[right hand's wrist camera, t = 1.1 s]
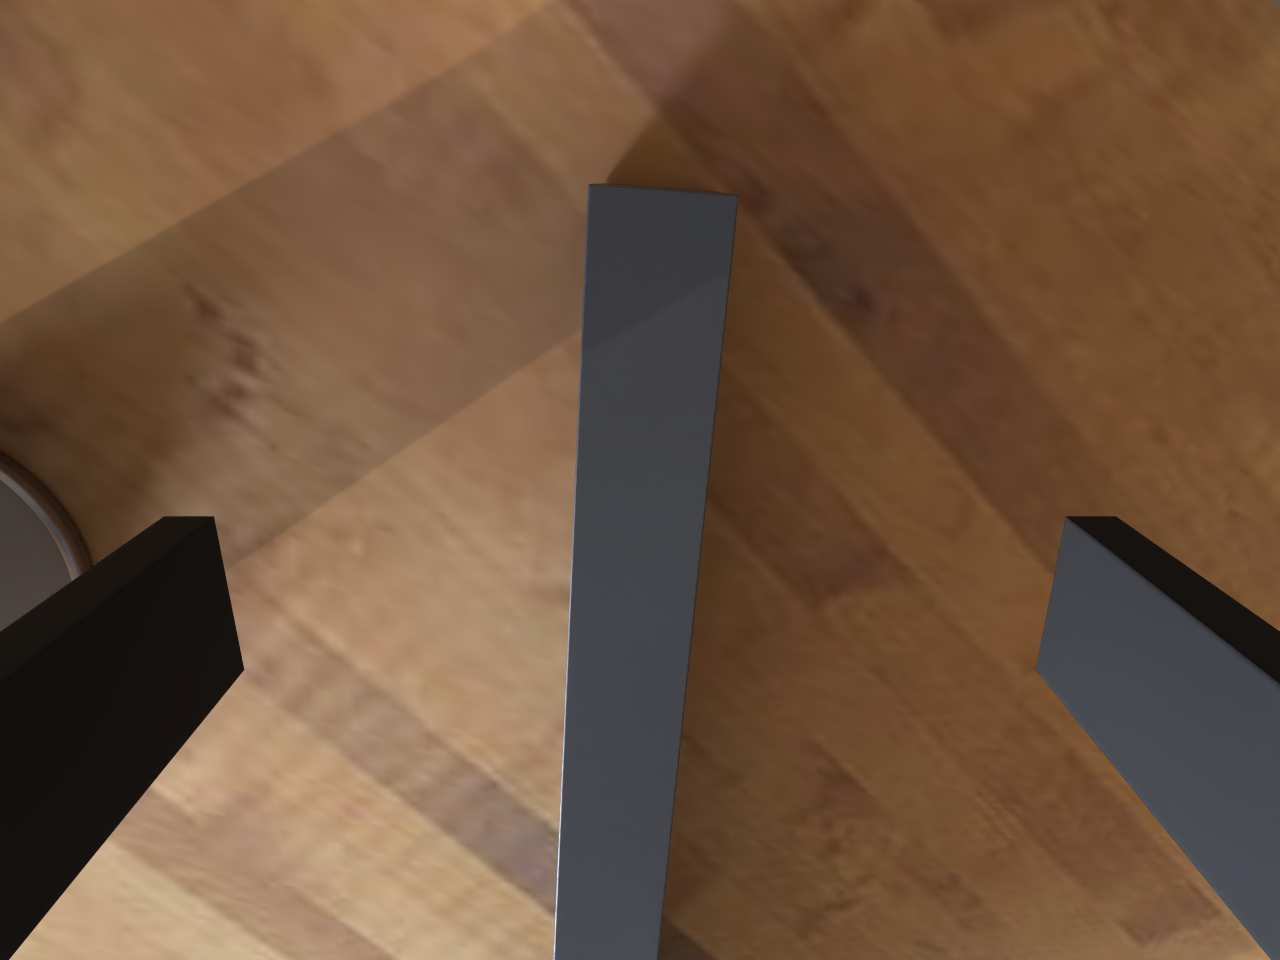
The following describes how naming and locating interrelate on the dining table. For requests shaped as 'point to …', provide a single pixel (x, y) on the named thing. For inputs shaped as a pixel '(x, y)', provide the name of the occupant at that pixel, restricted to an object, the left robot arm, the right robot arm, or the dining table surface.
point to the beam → (636, 550)
